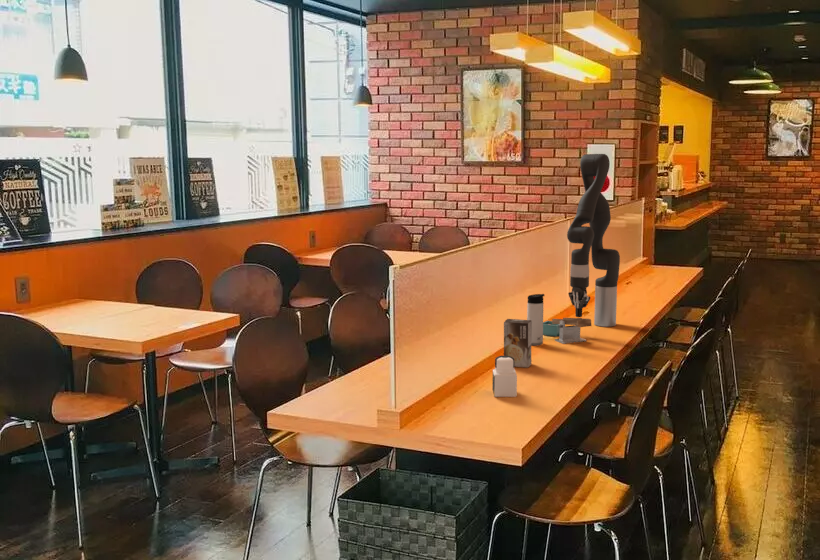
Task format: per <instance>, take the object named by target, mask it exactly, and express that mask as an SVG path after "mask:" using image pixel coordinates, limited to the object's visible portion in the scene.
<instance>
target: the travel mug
mask: <svg viewBox="0 0 820 560" xmlns="http://www.w3.org/2000/svg"><path fill="white" fill-rule="evenodd" d="M544 297H545V294H544V293H537V294H535V293H534V294H529V295H528V296H527V302H526V303H527V304H526V307H527V310H526V320H531V347H536V346H542V345H543V343H544V335H543V322H544Z"/></svg>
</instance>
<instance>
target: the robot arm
mask: <svg viewBox="0 0 820 560" xmlns="http://www.w3.org/2000/svg"><path fill="white" fill-rule="evenodd" d="M579 165H580V166H579V167H580V173H581V177H582V182H583V187H584V193H583V194H582V196H581V197H580V199H579V201H578V205H577V208H576V209H577V210H576V214H575V217H574V218H573V220H572V222H571V224H570V225H569V227H568V229H567V233H566V237H567V240H568V242H569V243H571V244H582V247H581V248H576V249H573V250H572V251H571V253H570V254H571V260H570V276H569V277H570V279H569V286H570V287H571V291H570V292H568V297H569V301H570V302H571V305H572V306H574V308H575V313H574V314H575V317H576V318H582V317H583V309H584V308H586V307H587V305H588V304H589V302H590V300H591V296H589V295H588V292H587V288H588V287H589V286H590V263H589V262H590V252H591V263H592V267H594V268H595V269H596V270H601V271H606V273H605V275H604V276H602V277H597V278H596V279H595V287H594V319H593V320H594V321H593V324H594V326H598V327H607V328H608V327H615V326H616V325H617V306H618V305H617V301H618V299H617V298H618V282H619V275H620V264H621V263H620V262H621V261H620V260H621V257H620V253H619V251H618V250H617V249H613V248H605V247H604V245H603V239H604V235H605V232H606V231H607V229H608V228H609V225H610V223H611V218H612V217H611V208H610V204H609V202H608V200H607V198H606V197H605V196H604V194H603V193H602V189H603V188H604V185H605V182H606V179H607V176H608V174H609V171H610V158H609V156H608V155H607V154H606V153H588V154H583V155H582V156H581V157H580V163H579ZM594 177H595V178H594ZM586 224H589V226H586ZM584 225H585V226H584Z"/></svg>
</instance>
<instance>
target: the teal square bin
mask: <svg viewBox="0 0 820 560" xmlns="http://www.w3.org/2000/svg"><path fill="white" fill-rule="evenodd" d="M548 324H550V325H548ZM559 335H560V328H559V324H552V320H546V321H543V336H545V337H555V338H557V337H559Z"/></svg>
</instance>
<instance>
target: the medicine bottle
mask: <svg viewBox="0 0 820 560" xmlns="http://www.w3.org/2000/svg"><path fill="white" fill-rule="evenodd" d="M517 383H518V375H517V371H516V369H515V367H514V358H513V357H511V356H504V355H499V356H497V357H495V358H494V369H492V394H493V397H494V398H499V397H500V398H502V397H504V398H505V397H506V398H508V397H509V398H516V397H517V396H518V395H517V393H518V389H517V387H518V384H517Z"/></svg>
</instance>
